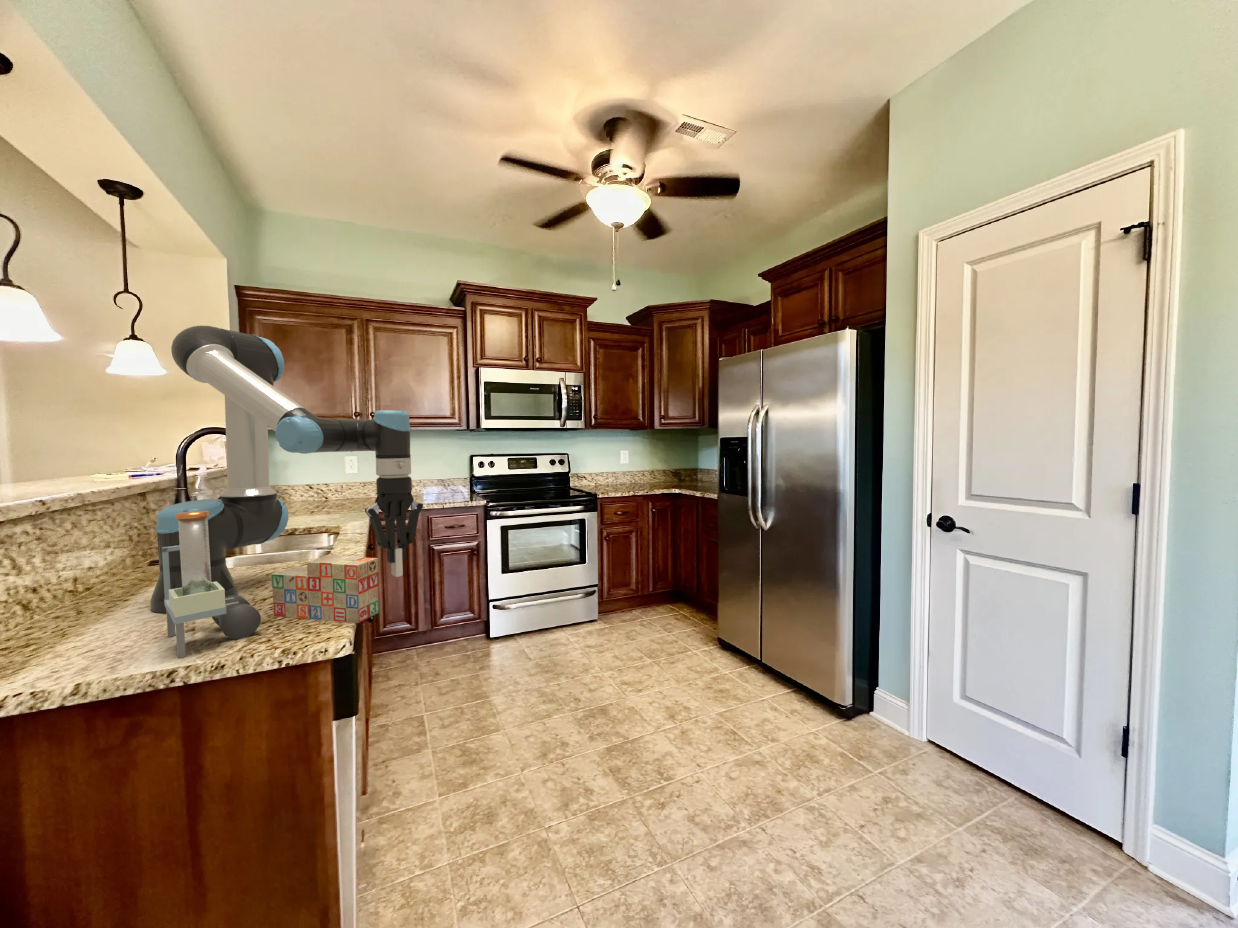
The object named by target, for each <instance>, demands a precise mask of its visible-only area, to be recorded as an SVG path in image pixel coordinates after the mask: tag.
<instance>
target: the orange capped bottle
mask: <svg viewBox="0 0 1238 928" xmlns="http://www.w3.org/2000/svg"><path fill="white" fill-rule="evenodd" d="M175 515H176V519H178V526H179V543H180V559H181V575H182V592H183V596H187V595H192V594H197V593H203V592H208V591H212V585H211V567H210V550H209V533H208V516H210V513H209V511H192V512H183V513H177V514H175Z"/></svg>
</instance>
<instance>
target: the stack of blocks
mask: <svg viewBox="0 0 1238 928" xmlns="http://www.w3.org/2000/svg"><path fill="white" fill-rule="evenodd" d="M270 577H271V589H272V602H273V616H275V617H286V618H293V619H295V618H296V619H306V620H320V621H329V622H330V621H332V622H341V623H353V624H360V623H362V622H363V621H366V620H368V619H369V618H372V617H373V616H375V615H378V614H379V613H380V599H379V597H380V596H379V594H380V593H379V582H380V580H379V558H378V557H366V556H358V555H356V556H355V555H351V556H349V555H346V556H345V555H326V556H323V557H319V558H316V559H313V560H310V561H307V562H306V567H303V566H294V567H292V568H288V569H284V570H282V571H277V572H275V573H272V574H271V576H270Z"/></svg>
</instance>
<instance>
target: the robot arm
mask: <svg viewBox="0 0 1238 928" xmlns="http://www.w3.org/2000/svg"><path fill="white" fill-rule="evenodd" d="M170 350H171V355H172V359H173V362H175V364H176V365H177V367H178V369H179V368H180V370H181V371H183V373H185V374H186V375H187V376H189V377H190V378H192V379H193V380H195V381H196V382H198V383H203V384H209V385H210V386H211V387H213V388H214V389H215V390H217V391H218V392H220V393H221V394H222V395H224V413H225V415H224V416H225V419H224V421H225V442H226V447H225V448H226V473H227V474H226V475H227V487H226V489H225V490H224V491H222V493H220V496H219V497H220V498H204V499H198V500H188V501H184V502H179V503H175V504H171V505H168V506H165V507H164V508H162V509H161V510H159V512H157V516H156V527H155V531H156V534H157V546H158V547H157V549H158V551H157V552H158V563H159V564H158V565H159V566H158V567H159V575H158V578H157V581H156V583H155V587H154V590H153V592H152V595H151V598H150V611H152V612H154V613H164V614H165V613H166V607H165V605H164V599H165V593H164V575H163V558H162V548H163V547H171V546H178V545H180V543H179V526H178V519H176V515H175V514H177V513H183V512H192V511H209V513H210V516H208V533H209V550H210V567H211V582H216V581H217V582H218V583H219V584H220V585H221V586H222V587H223V588H224V589H225V597H226V596H231V595H237V596H238V591H237V585H236V583H235V580H234V577H233V576H232V574H231V572H230V571H229V568H228V566H227V560H226V559H227V558H226V551H230V550H234V549H239V548H245V547H248V546H253V545H262V544H264V543H267V542H270V541H273V540H276V539H277V538H279V536H280V535H282V533H284V532H285V530H286V528H287V525H288V521H289V510H288V507H287V506H286V505H285V502H284V501H283V500H282V499H280V498H278V497H277V491H276V490H274V488H272V487H271V486H270V467H269V465H270V464H269V463H270V462H269V461H270V460H269V428H270V429H271V430H273V431H274V432H275V433H274V434H275V438H276V441H277V442H278V444H279V446H280V448H281V449H282V450H284V451H286V452H288V453H298V454H312V453H313V454H314V453H334V452H335V453H339V452H344V453H346V452H375V453H374V454H375V475H376V476H378V477H377V478H376V479H375V480H376V498H375V500H374V504H373V505H371V506H370V507H366V508H365V509H364V512H365V514H366V515H367V516H368V517H369V519H370V523H371V526H372V530H373V532H374V536H375V540H376V543H377V546H378V547H379V548H383V549H386V561H387V562H388V563H390V572H391V576H393V577H396V578H399V577H402V576H403V574H404V572H403V569H404V568H403V561H406V559H407V552H406V548H408V547H409V545H410V544H413V543H414V541H415V536H416V532H417V526H418V521H419V516H420V513H421V511H422V509H423V507H424V504H423V503H420V502H418V501H416V500H415V499H414V497H413V495H412V492H413V490H412V489H413V485H412V483H413V481H412V477H411V476H410V475H411V474H412V457H411V456H412V455H411V431H412V428H411V424H410V422H411V421H410V416H409V413H408V412H407V411H405V410H394V409H393V410H392V409H381V410H376V411H374V414H373V415H374V417H373V419H350V418H348V419H347V418H332V417H331V418H330V417H329V418H328V417H327V418H326V417H319V416H317V415H315V414H314V413H312V412H311V411H309V410H308V409H306V408H305V407H303V405H301V404H299V403H297V402H296V401H295V400H294V399H292V398H291V397H290V396H288V395H287V394H285V393H283V392H282V391H281V390H279V389H278V388H276V387H275V386H274V383H276V382H278V381H279V380H280V379H281V378H282V375H283V374H284V371H285V359H284V356H283V353H282V351H281V350H280V348H279V347H278V346H277V345H276V344H275V342H272V341H271V340H270V339H268V338H265V337H260V336H258V335H256V334H253V333H252V334H250V333H245V332H241V331H234V330H230V329H225V328H219V327H216V326H212V325H196V326H195V325H193V326H190V327H186V328H185V329H182V331H180V332H178V333H177V334H176V336H175V337H174V338H173V340H172V343H171V348H170ZM409 509H410V511H409V515H408V518H407V512H408V510H409ZM379 510H380V511H379ZM379 512H381V513H382V515H383V520H384V527H385V528H384V529H383V525H382V524H383V523H382V520H381V518H380V515H379V514H380V513H379ZM406 519H407V522H406ZM384 530H385V531H384ZM168 555H169V572H170V589H176V588H182V575H181V559H180V550H177V551H169V552H168Z"/></svg>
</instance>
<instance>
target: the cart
mask: <svg viewBox="0 0 1238 928" xmlns="http://www.w3.org/2000/svg"><path fill="white" fill-rule="evenodd" d="M177 550H180V545H178V546H171V547H163V548H162V558H163V575H164V593H165V599H164V605H165V607H166V630H167V637H168V638H170V637H175V640H176V641H175V642H176V657H177V659H180V658H184V657H186V656H187V653H186V639H185V638H186V637H185V636H186V635H185V634H186V633H185V623H187V622H194V621H198V620H202V619H208V618H211V619H212V620H213V622H214V623H215V625H217V626H219V629H220V631H221V632H222V633H223V635H224V636H225V637H227V638H229V639H234V640H240V639H243V638H248V637H249V636H251V635H252V634H254V633H255V632H256V631H257V630H258V628H259V627H260V624H261V620H262V616H261V613H260V612H259V610H257V609H256V607H254V606H253V605H251V604H250V602H249V601H248V600H246V598H244V596H240V595H238V594H237V595H231V596H226V597H225V607H224V608H219V609H214V610H209V611H204V612H200V613H195V614H190V615H185V616H180V617H176V618H175V617H174V615H173V613H172V611H171V609H170V606H169V590H170V572H169V555H168V552H169V551H177Z"/></svg>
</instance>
